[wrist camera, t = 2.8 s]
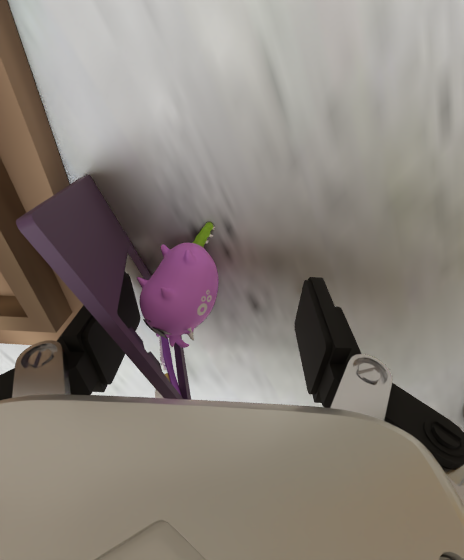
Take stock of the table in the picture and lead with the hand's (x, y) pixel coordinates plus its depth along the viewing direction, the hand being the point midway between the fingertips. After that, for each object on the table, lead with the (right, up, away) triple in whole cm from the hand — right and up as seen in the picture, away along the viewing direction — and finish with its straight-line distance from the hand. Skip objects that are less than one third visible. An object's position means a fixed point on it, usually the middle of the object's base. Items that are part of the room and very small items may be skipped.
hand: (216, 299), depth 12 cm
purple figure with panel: (-2, +3, +1) cm, 4 cm away
